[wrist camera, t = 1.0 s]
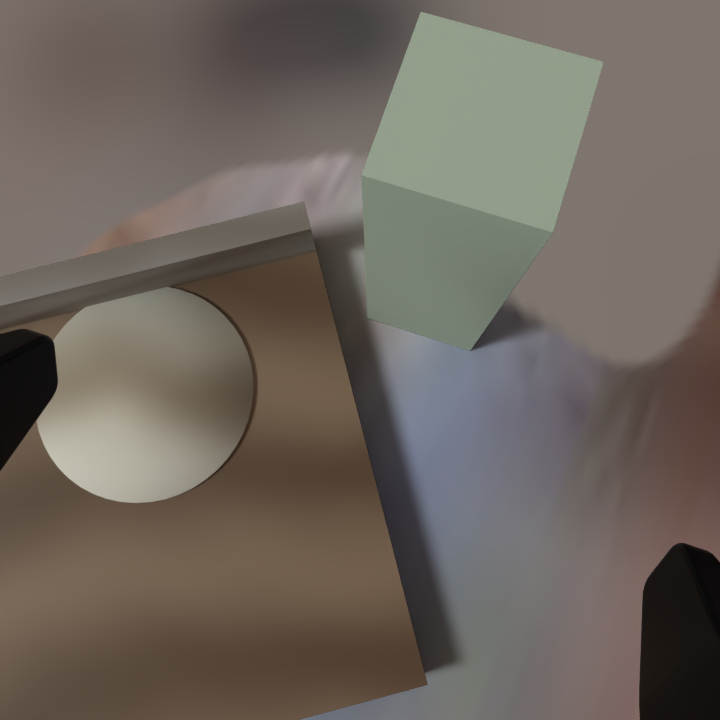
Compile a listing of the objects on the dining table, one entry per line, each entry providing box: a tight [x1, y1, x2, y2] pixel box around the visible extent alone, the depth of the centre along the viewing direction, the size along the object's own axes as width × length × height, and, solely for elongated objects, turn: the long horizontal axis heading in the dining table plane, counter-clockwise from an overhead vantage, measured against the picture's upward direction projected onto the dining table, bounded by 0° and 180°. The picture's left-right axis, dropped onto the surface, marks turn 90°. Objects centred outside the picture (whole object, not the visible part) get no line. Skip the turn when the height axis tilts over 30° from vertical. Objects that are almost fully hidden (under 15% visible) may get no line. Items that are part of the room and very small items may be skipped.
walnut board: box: [0, 202, 428, 720], centre depth 21 cm, size 16×14×3 cm
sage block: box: [362, 12, 603, 351], centre depth 18 cm, size 4×4×11 cm
